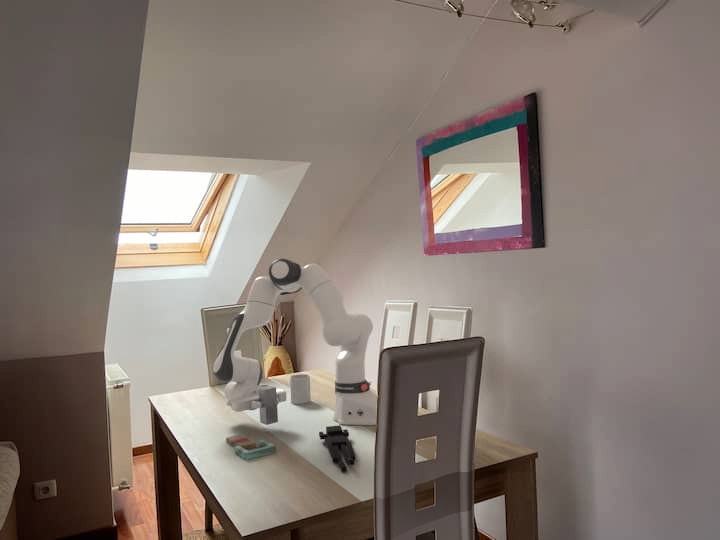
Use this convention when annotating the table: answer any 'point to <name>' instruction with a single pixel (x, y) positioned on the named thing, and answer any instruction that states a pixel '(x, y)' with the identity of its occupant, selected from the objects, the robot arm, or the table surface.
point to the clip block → (268, 405)
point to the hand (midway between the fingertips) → (269, 403)
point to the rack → (250, 447)
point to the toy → (338, 445)
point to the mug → (300, 389)
